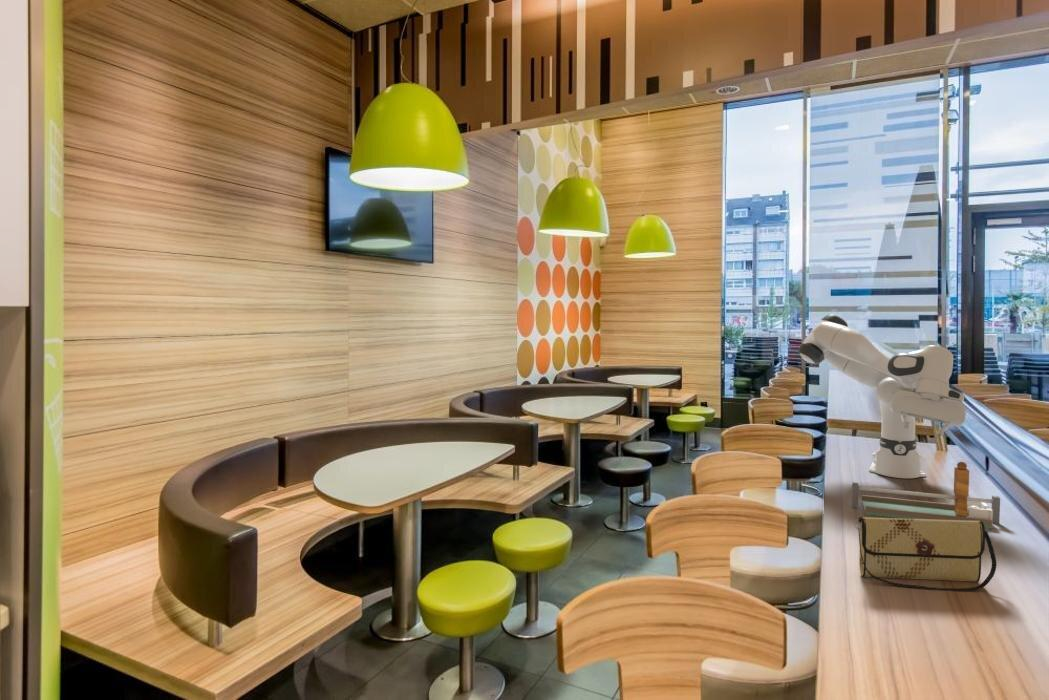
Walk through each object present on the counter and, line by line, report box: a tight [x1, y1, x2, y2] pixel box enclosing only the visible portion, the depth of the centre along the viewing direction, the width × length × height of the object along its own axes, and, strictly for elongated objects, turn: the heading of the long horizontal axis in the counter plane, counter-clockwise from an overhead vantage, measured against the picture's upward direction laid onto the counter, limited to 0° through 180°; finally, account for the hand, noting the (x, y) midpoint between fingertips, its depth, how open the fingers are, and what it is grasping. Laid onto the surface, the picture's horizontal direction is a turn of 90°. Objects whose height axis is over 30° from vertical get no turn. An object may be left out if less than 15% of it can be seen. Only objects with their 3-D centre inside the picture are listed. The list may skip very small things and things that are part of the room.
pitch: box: [851, 481, 1001, 530], centre depth 181 cm, size 13×38×8 cm, turn 65°
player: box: [953, 461, 970, 516], centre depth 176 cm, size 4×3×16 cm
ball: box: [967, 505, 981, 514], centre depth 175 cm, size 4×4×4 cm
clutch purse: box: [853, 516, 998, 592], centre depth 136 cm, size 30×7×15 cm, turn 81°
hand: (922, 431), depth 187 cm, fingers open, 8 cm apart
